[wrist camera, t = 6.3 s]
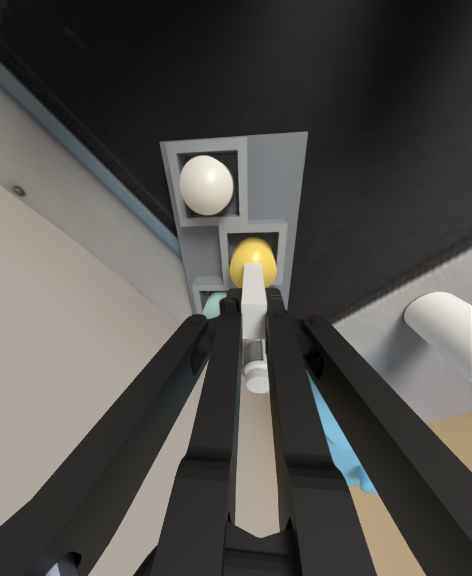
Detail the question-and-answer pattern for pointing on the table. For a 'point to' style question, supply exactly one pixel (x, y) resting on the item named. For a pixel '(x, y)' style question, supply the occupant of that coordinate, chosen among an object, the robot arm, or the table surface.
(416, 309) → the spray bottle
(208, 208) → the button ivory
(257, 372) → the pill bottle
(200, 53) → the table surface
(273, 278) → the button mustard
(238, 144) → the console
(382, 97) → the table surface
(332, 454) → the container
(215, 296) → the button teal
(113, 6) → the table surface
